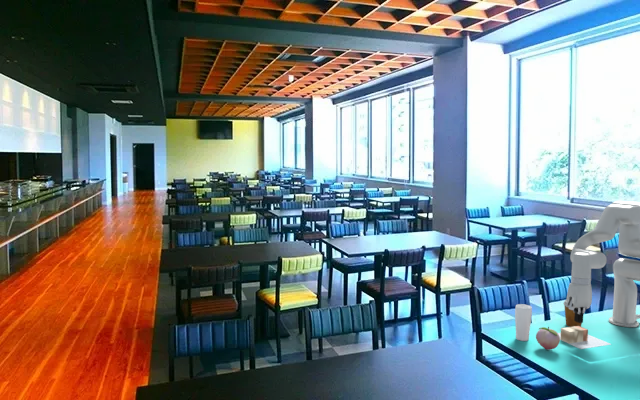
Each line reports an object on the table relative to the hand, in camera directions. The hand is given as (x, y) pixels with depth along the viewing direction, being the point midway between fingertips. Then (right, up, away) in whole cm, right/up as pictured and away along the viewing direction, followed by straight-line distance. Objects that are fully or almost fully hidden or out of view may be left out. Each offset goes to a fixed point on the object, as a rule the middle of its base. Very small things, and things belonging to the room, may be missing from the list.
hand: (578, 321), depth 221 cm
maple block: (+3, -5, +1) cm, 6 cm away
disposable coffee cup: (+7, -7, +19) cm, 22 cm away
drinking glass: (-24, -9, +2) cm, 25 cm away
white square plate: (+1, -9, +1) cm, 9 cm away
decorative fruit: (-18, -10, -9) cm, 22 cm away
